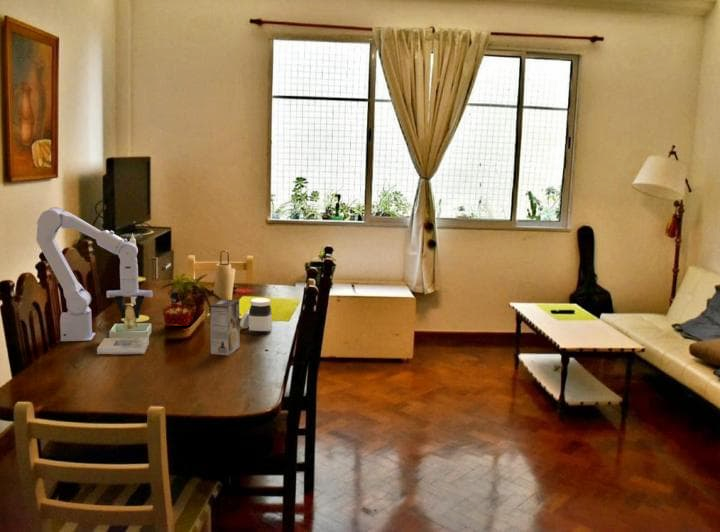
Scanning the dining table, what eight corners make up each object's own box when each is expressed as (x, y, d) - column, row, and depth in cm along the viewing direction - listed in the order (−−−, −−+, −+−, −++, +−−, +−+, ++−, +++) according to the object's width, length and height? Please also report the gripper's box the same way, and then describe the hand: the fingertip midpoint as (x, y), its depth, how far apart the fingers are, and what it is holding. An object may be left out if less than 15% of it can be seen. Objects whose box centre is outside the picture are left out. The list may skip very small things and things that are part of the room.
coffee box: (221, 345, 221) (221, 298, 218) (240, 347, 220) (240, 299, 217) (210, 354, 212) (209, 304, 209) (229, 356, 211) (229, 306, 208)
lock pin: (123, 329, 225) (122, 306, 224) (125, 326, 229) (125, 303, 227) (136, 329, 226) (135, 306, 224) (138, 325, 230) (137, 303, 228)
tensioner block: (97, 354, 208) (96, 348, 207) (104, 344, 218) (104, 338, 218) (144, 353, 210) (143, 347, 210) (148, 343, 221) (148, 337, 220)
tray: (109, 341, 222) (109, 332, 221) (115, 332, 232) (114, 323, 231) (147, 340, 224) (147, 331, 223) (151, 331, 234) (151, 323, 233)
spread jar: (268, 336, 233) (269, 304, 231) (236, 335, 233) (236, 302, 231) (274, 327, 245) (274, 296, 243) (243, 325, 245) (243, 294, 243)
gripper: (104, 281, 219) (105, 321, 222) (150, 280, 222) (151, 320, 224) (108, 276, 226) (109, 315, 228) (152, 276, 228) (153, 315, 231)
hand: (130, 317), depth 227 cm, fingers closed on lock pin, 4 cm apart
